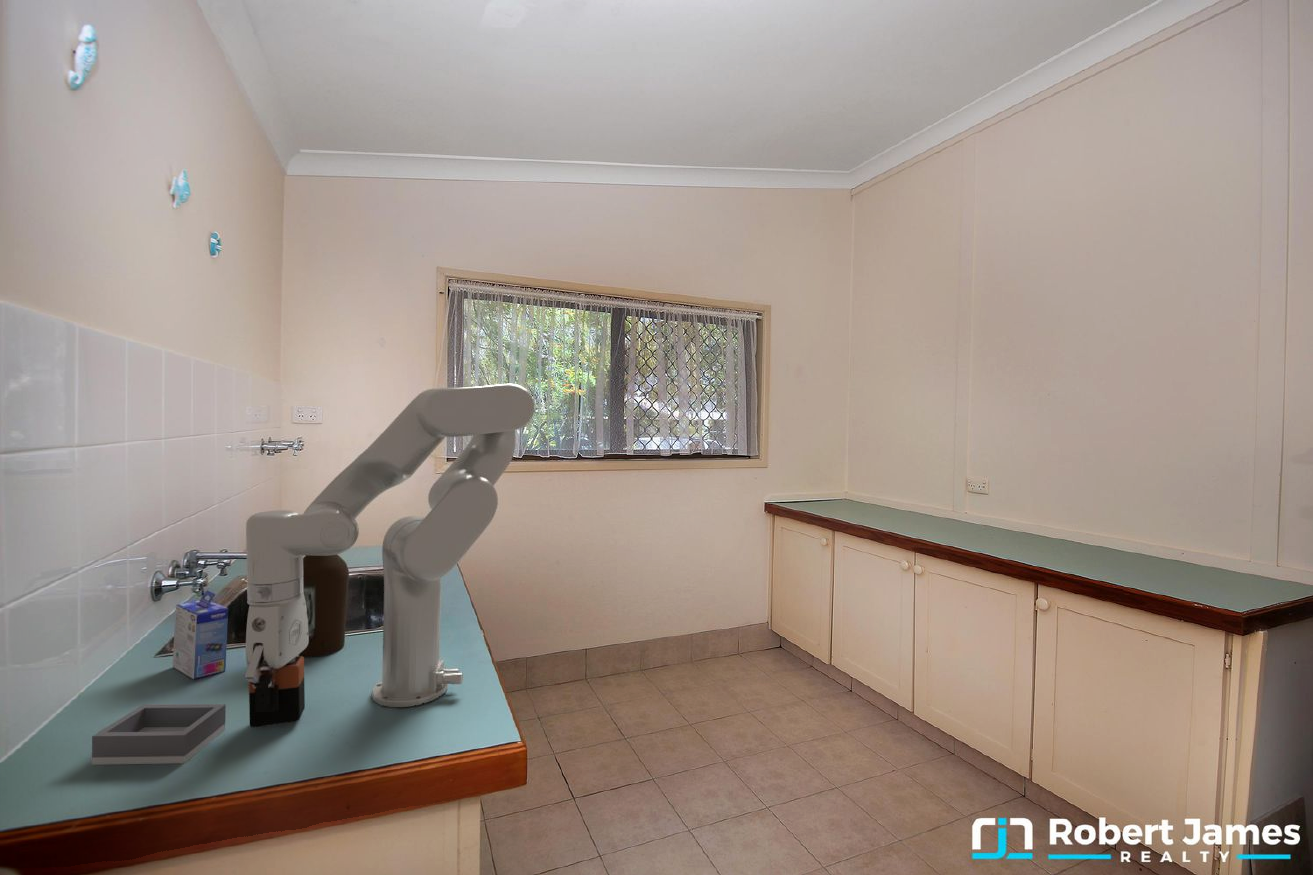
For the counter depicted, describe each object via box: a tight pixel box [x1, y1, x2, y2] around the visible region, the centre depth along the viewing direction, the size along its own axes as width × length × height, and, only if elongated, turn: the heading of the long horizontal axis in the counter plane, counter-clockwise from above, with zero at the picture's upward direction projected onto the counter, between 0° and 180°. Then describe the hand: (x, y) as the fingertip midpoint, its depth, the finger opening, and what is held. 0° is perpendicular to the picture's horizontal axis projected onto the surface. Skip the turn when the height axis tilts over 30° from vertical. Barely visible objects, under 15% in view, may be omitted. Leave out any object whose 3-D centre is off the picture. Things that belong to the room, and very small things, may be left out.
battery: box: [248, 656, 306, 728], centre depth 94 cm, size 4×7×10 cm, turn 109°
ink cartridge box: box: [172, 590, 229, 680], centre depth 112 cm, size 10×6×14 cm, turn 58°
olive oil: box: [299, 554, 350, 658], centre depth 124 cm, size 11×11×25 cm
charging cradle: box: [91, 703, 227, 766], centre depth 87 cm, size 12×9×4 cm
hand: (277, 700), depth 94 cm, fingers closed on battery, 5 cm apart
